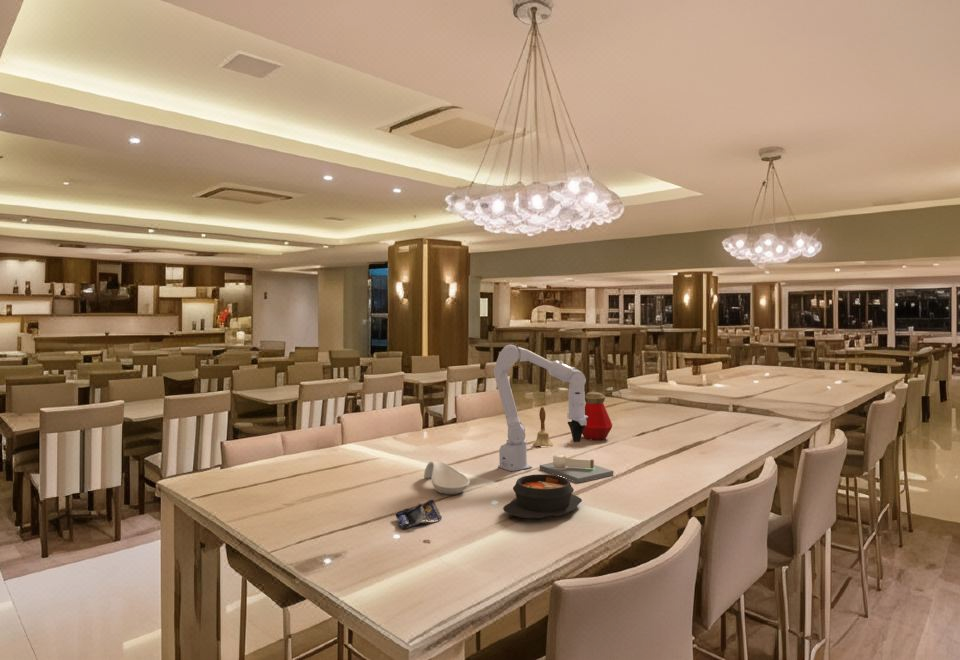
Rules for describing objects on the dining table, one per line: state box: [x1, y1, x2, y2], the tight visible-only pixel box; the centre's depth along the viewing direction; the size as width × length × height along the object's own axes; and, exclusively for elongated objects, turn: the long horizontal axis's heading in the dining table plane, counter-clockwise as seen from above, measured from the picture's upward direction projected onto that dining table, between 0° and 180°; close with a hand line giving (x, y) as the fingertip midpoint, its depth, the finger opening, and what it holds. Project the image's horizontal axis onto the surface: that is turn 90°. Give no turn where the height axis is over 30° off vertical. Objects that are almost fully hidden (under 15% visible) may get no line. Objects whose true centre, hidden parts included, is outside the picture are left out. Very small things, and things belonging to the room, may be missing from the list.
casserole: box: [502, 473, 583, 520], centre depth 162 cm, size 25×19×8 cm
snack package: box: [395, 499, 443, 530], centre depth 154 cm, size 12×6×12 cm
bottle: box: [582, 391, 613, 441], centre depth 255 cm, size 16×14×20 cm
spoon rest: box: [423, 460, 471, 495], centre depth 185 cm, size 24×12×7 cm, turn 27°
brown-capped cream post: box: [552, 454, 595, 468], centre depth 200 cm, size 14×4×3 cm, turn 73°
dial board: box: [539, 462, 614, 484], centre depth 201 cm, size 16×20×2 cm
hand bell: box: [532, 406, 554, 447], centre depth 243 cm, size 8×8×16 cm
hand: (576, 441), depth 206 cm, fingers closed
